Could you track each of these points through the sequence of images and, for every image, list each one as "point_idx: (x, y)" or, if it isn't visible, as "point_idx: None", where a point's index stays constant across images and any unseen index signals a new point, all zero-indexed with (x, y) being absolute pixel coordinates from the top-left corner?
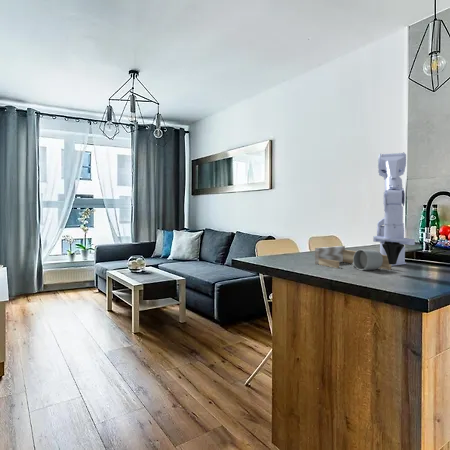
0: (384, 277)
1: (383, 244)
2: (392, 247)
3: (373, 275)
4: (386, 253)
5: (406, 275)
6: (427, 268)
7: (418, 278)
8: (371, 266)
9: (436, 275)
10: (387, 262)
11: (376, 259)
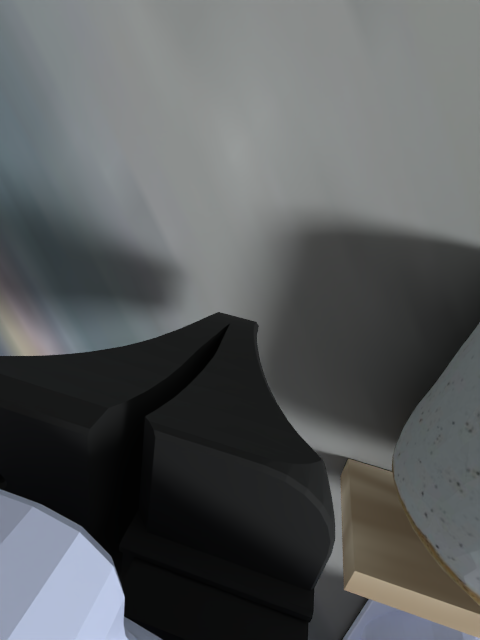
0: (222, 70)
1: (265, 467)
2: (44, 371)
3: (353, 84)
4: (258, 374)
5: (156, 315)
6: None
7: (52, 260)
8: (474, 330)
9: None
10: (370, 512)
11: (449, 415)
